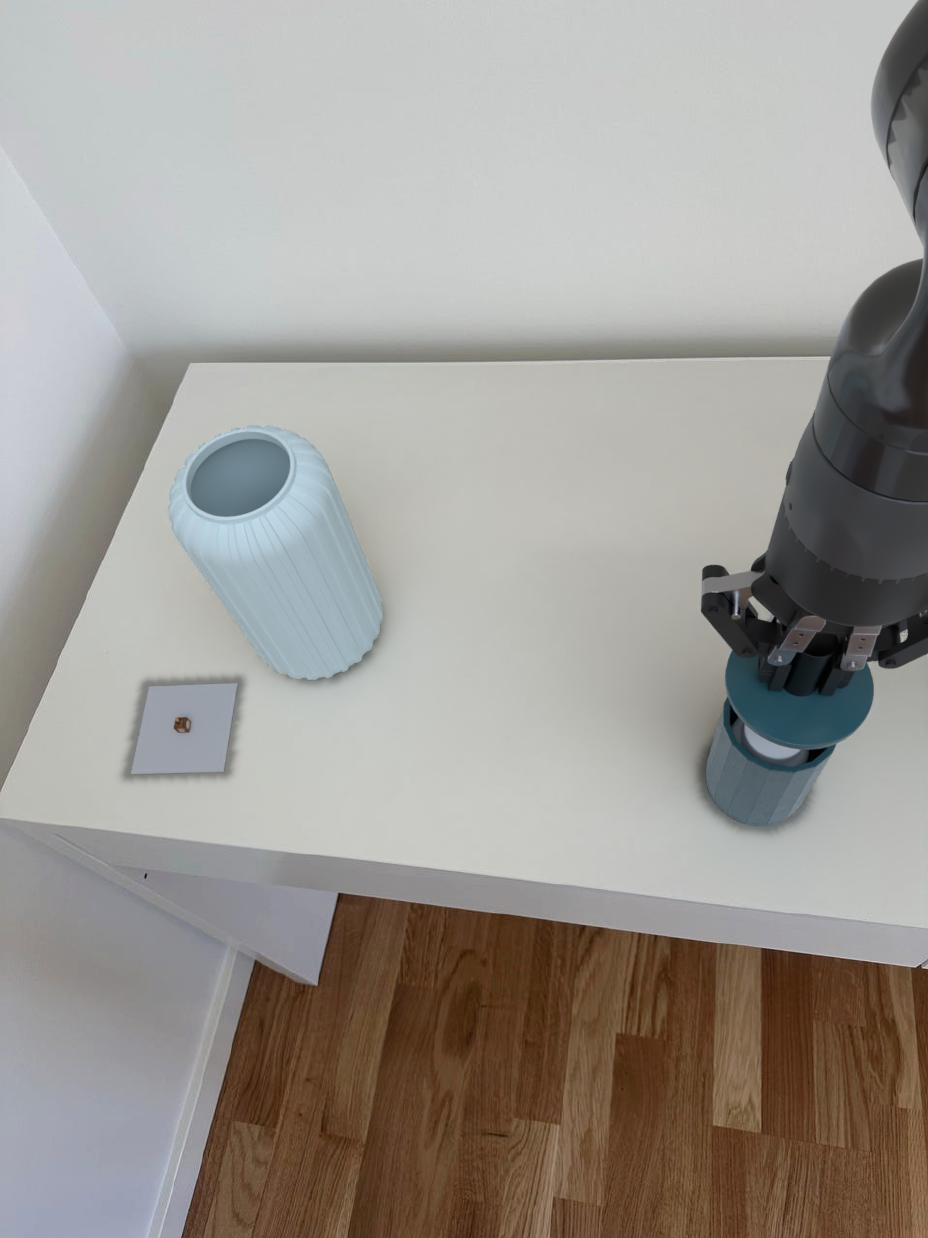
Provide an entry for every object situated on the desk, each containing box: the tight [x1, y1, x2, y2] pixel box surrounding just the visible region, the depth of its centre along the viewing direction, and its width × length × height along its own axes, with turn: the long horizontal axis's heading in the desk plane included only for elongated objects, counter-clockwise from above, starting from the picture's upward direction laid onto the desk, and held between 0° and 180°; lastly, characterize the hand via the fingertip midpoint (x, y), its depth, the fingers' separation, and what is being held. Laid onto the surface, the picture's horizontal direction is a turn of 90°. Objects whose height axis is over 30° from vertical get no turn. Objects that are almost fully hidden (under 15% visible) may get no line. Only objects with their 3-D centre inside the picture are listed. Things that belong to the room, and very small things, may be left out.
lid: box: [724, 633, 875, 750], centre depth 52 cm, size 8×8×6 cm
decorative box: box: [130, 682, 238, 775], centre depth 76 cm, size 8×8×2 cm
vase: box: [167, 424, 384, 681], centre depth 70 cm, size 12×12×22 cm
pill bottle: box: [731, 718, 809, 767], centre depth 64 cm, size 6×5×10 cm
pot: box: [705, 696, 837, 827], centre depth 64 cm, size 7×7×12 cm
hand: (799, 678), depth 54 cm, fingers closed on lid
